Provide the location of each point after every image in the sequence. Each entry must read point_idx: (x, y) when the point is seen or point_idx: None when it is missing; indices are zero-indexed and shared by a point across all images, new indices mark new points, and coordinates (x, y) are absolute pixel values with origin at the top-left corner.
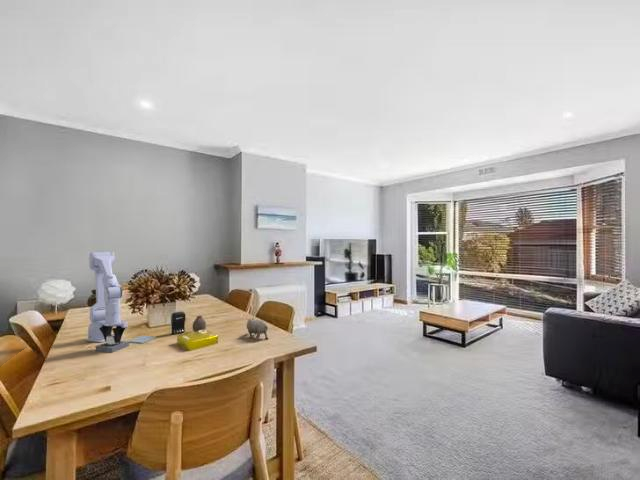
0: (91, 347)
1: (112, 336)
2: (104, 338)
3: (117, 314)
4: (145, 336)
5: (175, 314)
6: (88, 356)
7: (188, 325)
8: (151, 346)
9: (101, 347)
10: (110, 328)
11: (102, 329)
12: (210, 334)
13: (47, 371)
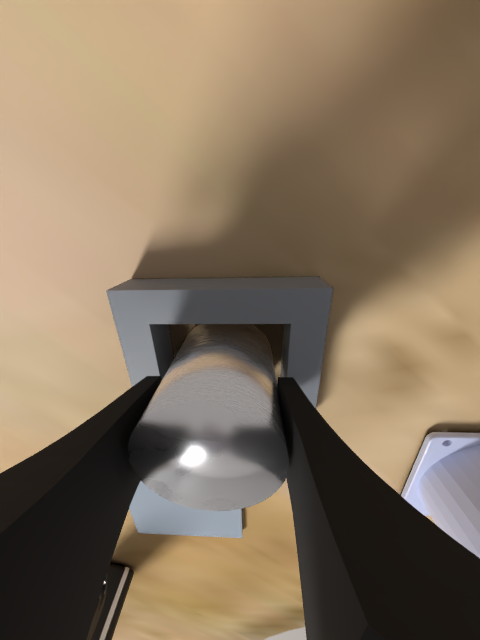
0: (434, 336)
1: (157, 429)
2: (305, 400)
3: None
4: (208, 532)
5: None
6: (248, 111)
7: (171, 626)
8: (11, 431)
9: (250, 287)
10: (311, 625)
11: (381, 588)
12: None
13: None
